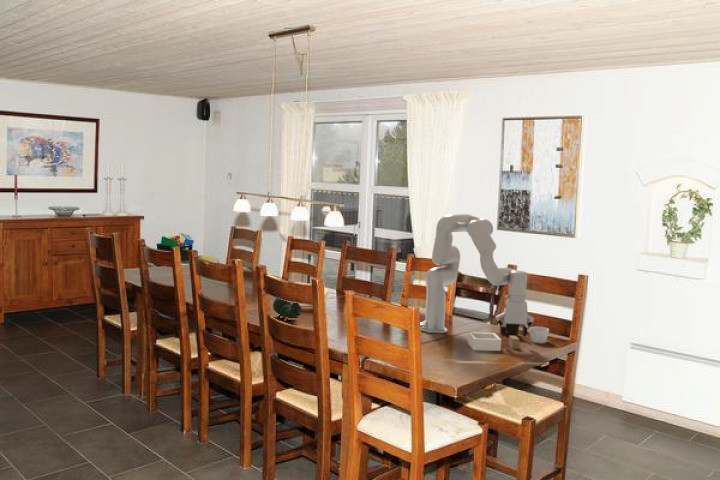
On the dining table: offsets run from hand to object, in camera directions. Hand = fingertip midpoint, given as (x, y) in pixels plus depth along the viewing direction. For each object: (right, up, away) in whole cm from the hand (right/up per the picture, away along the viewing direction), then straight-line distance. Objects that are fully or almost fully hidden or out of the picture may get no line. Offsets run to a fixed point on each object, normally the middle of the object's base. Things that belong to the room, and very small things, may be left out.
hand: (513, 335), depth 308 cm
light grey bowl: (+15, -5, +16) cm, 23 cm away
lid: (0, -7, 0) cm, 7 cm away
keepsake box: (-14, -6, -2) cm, 15 cm away
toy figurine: (-107, +2, +43) cm, 115 cm away
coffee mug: (+4, -4, +24) cm, 25 cm away
